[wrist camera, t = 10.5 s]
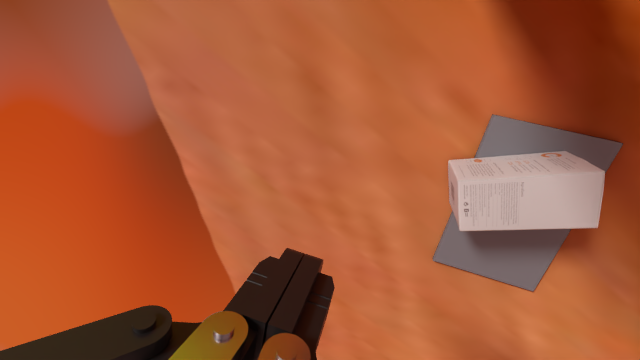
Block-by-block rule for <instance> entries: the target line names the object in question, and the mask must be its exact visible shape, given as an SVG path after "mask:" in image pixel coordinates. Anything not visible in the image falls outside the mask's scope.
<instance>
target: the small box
mask: <svg viewBox="0 0 640 360" xmlns="http://www.w3.org/2000/svg"><path fill="white" fill-rule="evenodd" d="M448 178H449V203H450V205H451V207H452V210H453V213H454V215H455V218H456V221H457V223H458V227H459V230H460V231H492V230H537V229H581V228H598V223H599V217H600V211H601V204H602V197H603V189H604V179H605V171H604V170H601V169H600V168H598V167H596V166H594V165H592V164H590V163H589V162H587V161H586V160H584V159H582V158H579V157H577V156H575V155H573V154H571V153H569V152H566V151H558V152H544V153H533V154H520V155H507V156H496V157H484V158H471V159H458V160H449V161H448Z"/></svg>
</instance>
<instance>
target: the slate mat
mask: <svg viewBox="0 0 640 360" xmlns="http://www.w3.org/2000/svg"><path fill="white" fill-rule="evenodd" d="M622 145H623V143H620V142H615V141H611V140H606V139H602V138H597V137H593V136H588V135H584V134H579V133H575V132H570V131H566V130H561V129H557V128H552V127H547V126H543V125H538V124H534V123H529V122H525V121H520V120H516V119H511V118H507V117H502V116H498V115H493V114H492V116H491V119H490V121H489V124H488V126H487V129H486V131H485V133H484V136H483V138H482V141H481V143H480V145H479V148H478V150H477V153H476V155H475V157H474V158H484V157H496V156H507V155H520V154H533V153H544V152H558V151H566V152H569V153H571V154H573V155H575V156H577V157H579V158H582V159H584V160H586V161H587V162H589V163H590V164H592V165H594V166H596V167H598V168H600V169H601V170H604V171H605V173H606V171H607V170H608V168H609V166H610V165H611V163H612V162H613V160H614V158H615V157H616V155H617V153H618V152H619V150H620V148H621V147H622ZM570 230H571V229H537V230H492V231H460V230H459V227H458V223H457V221H456V218H455V215H454V213H453V211H452V213H451V215H450V218H449V220H448V223H447V225H446V227H445V230H444V232H443V235H442V237H441V240H440V242H439V244H438V247H437V249H436V252H435V254H434V256H433V261H436V262H439V263H443V264H446V265H449V266H452V267H456V268H459V269H462V270H465V271H469V272H472V273H475V274H478V275H482V276H485V277H488V278H491V279H494V280H498V281H501V282H504V283H507V284H511V285H514V286H517V287H520V288H524V289H527V290H530V291H534V290H535V288H536V286H537V285H538V283H539V281H540V280H541V278H542V276H543V275H544V273H545V271H546V270H547V268H548V267H549V265H550V263H551V262H552V260H553V258H554V257H555V255H556V253H557V252H558V250H559V248H560V247H561V245H562V244H563V242H564V240H565V239H566V237H567V235H568V234H569V232H570Z"/></svg>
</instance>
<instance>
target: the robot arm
mask: <svg viewBox="0 0 640 360" xmlns="http://www.w3.org/2000/svg"><path fill="white" fill-rule="evenodd" d="M322 265H323V259H320V258H317V257H314V256H311V255H308V254H304V253H301V252H298V251H295V250H292V249H289V248H286V250H285V251H284V253H283V254H282V256H281V257H280V259H277V258H274V257H271V256H270V257H268V258H266V259H265V260H263V261H261V262H259V264H258V265H257V266H256V268H255V269H254V270H253V272H252V273H251V274H250V276H249V277H248V278H247V281H245V282H244V284H243V285H242V286H241V288H240V289H239V290H238V292H237V293H236V294H235V296H234V297H233V299H232V300H231V301H230V303H229V304H228V305H227V307H226V308H225V309H224V310H223V311H221V312H217V313H214V314H212V315H210V316H209V317H207V318H206V319H205V320H204V321H203V322H200V323H184V322H172V317H171V314H170V313H169V311H168V310H167V309H165V308H163V307H160V306H153V305H152V306H143V307H140V308H136V309H134V310H130V311H127V312H124V313H121V314H117V315H114V316H111V317H108V318H105V319H102V320H98V321H95V322H92V323H89V324H85V325H82V326H79V327H76V328H73V329H69V330H66V331H63V332H60V333H57V334H53V335H51V336H47V337H44V338H41V339H38V340H35V341H31V342H28V343H25V344H21V345H18V346H15V347H12V348H9V349H6V350H2V351H0V360H317V358H316V350H317V346H318V343H319V340H320V337H321V334H322V330H323V327H324V324H325V321H326V317H327V314H328V310H329V306H330V303H331V299H332V295H333V291H334V284H333V279H332V277H331V276H328V275H325V274H322V273H321V269H322Z"/></svg>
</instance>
